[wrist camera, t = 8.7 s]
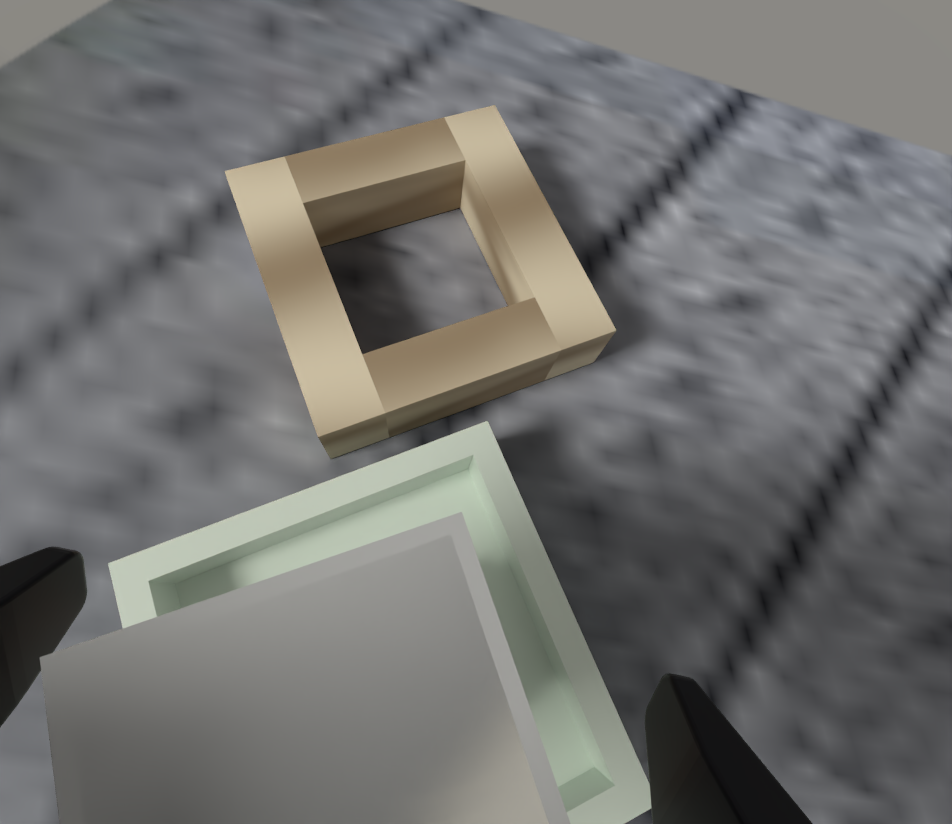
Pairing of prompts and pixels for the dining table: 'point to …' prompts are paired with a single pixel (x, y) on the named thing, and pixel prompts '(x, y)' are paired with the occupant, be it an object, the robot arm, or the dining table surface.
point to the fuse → (308, 702)
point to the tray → (504, 567)
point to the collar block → (398, 202)
